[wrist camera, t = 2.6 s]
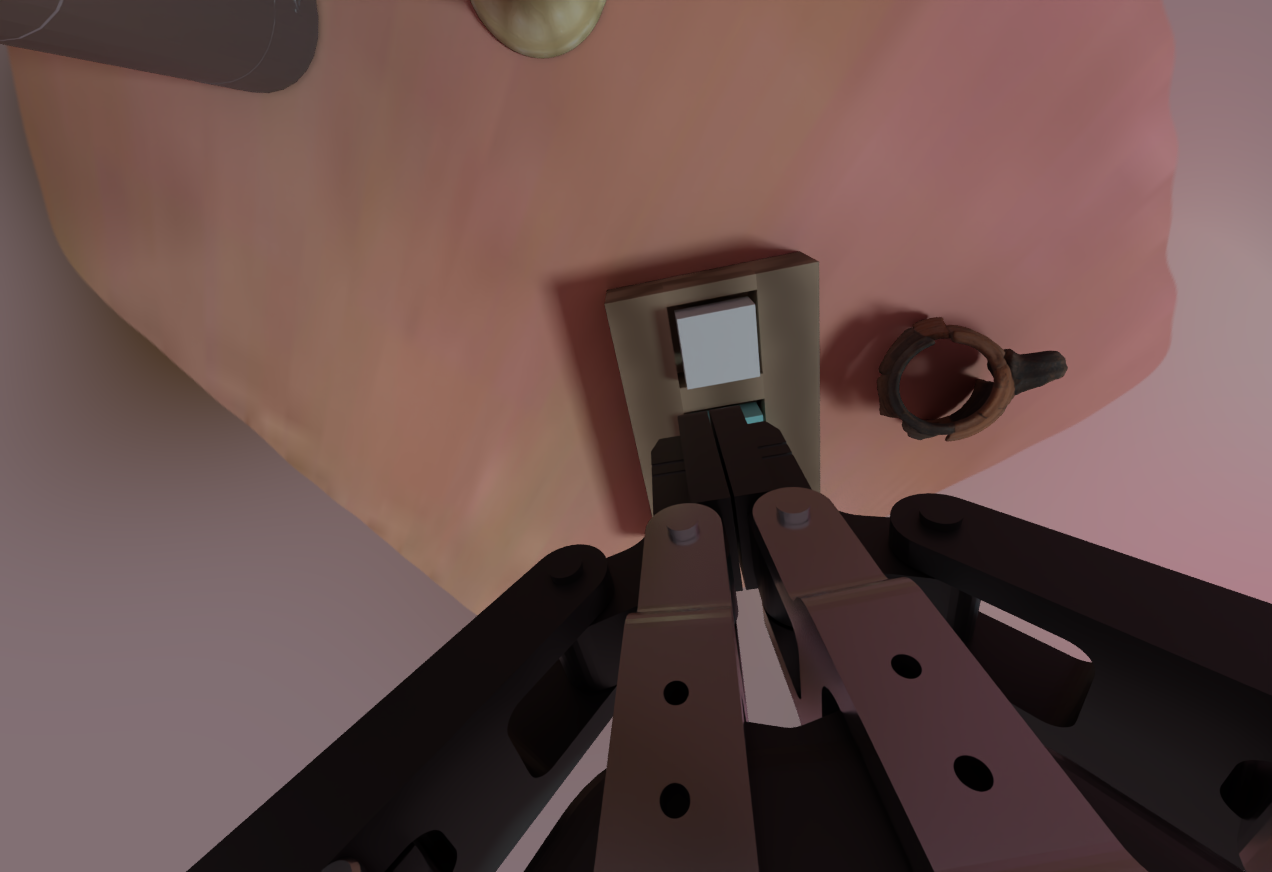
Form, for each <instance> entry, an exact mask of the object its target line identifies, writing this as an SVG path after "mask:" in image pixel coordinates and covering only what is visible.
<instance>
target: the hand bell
mask: <svg viewBox="0 0 1272 872" xmlns="http://www.w3.org/2000/svg"><path fill="white" fill-rule="evenodd" d="M470 1H471V3H472V5H473V7H474V9H475V11H476V13H477V14H478V16H479V18H480V19H481V21H482V22H483V24H484V25H485V26H486V27H487V29H488V30H489V31H490V32H491V33H492V34H493V35H494V36H495V37H496V38H497V39H498V40H499V41H500V42H501V43H503V44H504V45H505V46H507V47H508V48H510V49H512V50H513V51H515V52H518V53H520V54H522V55H526V56H529V57H534V58H551V57H556V56H559V55H562V54H565V53H567V52H569V51H571V50H572V49H574V48H575V47H577V46H578V45H579V44H580V43H581V42H583V41H584V40H585V39H586V37H587V36H588V35H589V34H590V33H591V31H592V30H593V28H594V27H595V25H596V23H597V22H598V20H599V17H600V15H601V13H602V10H603V8H604V5H605V2H606V0H470Z"/></svg>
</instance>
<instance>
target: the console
mask: <svg viewBox="0 0 1272 872" xmlns="http://www.w3.org/2000/svg"><path fill="white" fill-rule="evenodd" d="M745 296H748V297H749V298H750V299H751V300H752V301H753V303H754V304H755V310H756V324H757V338H758V353H759V367H760V377H755V378H749V379H744V380H738V381H733V382H727V383H721V384H716V385H710V386H705V387H699V388H694V389H687V385H686V381H685V376H684V370H683V364H682V357H681V351H680V344H679V338H678V331H677V325H676V318H675V312H674V310H679V309H684V308H689V307H694V306H699V305H704V304H709V303H715V302H720V301H725V300H730V299H735V298H740V297H745ZM605 309H606V313H607V317H608V322H609V326H610V331H611V335H612V340H613V344H614V349H615V353H616V357H617V362H618V366H619V371H620V375H621V380H622V384H623V389H624V393H625V397H626V402H627V406H628V411H629V415H630V420H631V424H632V429H633V433H634V437H635V442H636V446H637V451H638V455H639V460H640V464H641V469H642V473H643V477H644V482H645V486H646V491H647V495H648V500H649V504H650V509H651V513H652V517H653V495H652V465H651V451H652V449H653V448H654V446H655V445H656V443H657V442H658V440H659V439H662V438H668V437H674V436H680V431H679V424H678V418H677V416H679V415H685V414H690V413H694V412H700V411H706V410H711V409H717V408H723V407H728V406H734V405H740V404H746V403H751V402H756V403H757V405H758V407H759V408H760V410H761V412H762V414H763V421H766V422H768V423H770V424H771V425H773V426H774V427H776V428H778V429H779V430H780V431H781V433H782V435H783V437H784V438H785V440H786V443H787V444H788V446H789V448H790V450H791V451H792V455H794V457H795V459H796V461H797V463H798V464H799V466H800V468H801V470H802V472H803V474H804V476H805V478H806V479H807V481H808V483H809V485H810V487H811V489H812V490H814V491H817V492H819V493H820V351H819V261H817V260H815V259H813V258H811V257H809V256H808V255H806V254H804V253H802V252H795V253H790V254H785V255H780V256H775V257H770V258H765V259H760V260H755V261H750V262H745V263H740V264H735V265H730V266H725V267H720V268H715V269H710V270H705V271H700V272H695V273H690V274H685V275H680V276H675V277H670V278H665V279H660V280H655V281H650V282H645V283H640V284H635V285H630V286H626V287H621V288H616V289H611V290H607V293H606V299H605Z"/></svg>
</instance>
